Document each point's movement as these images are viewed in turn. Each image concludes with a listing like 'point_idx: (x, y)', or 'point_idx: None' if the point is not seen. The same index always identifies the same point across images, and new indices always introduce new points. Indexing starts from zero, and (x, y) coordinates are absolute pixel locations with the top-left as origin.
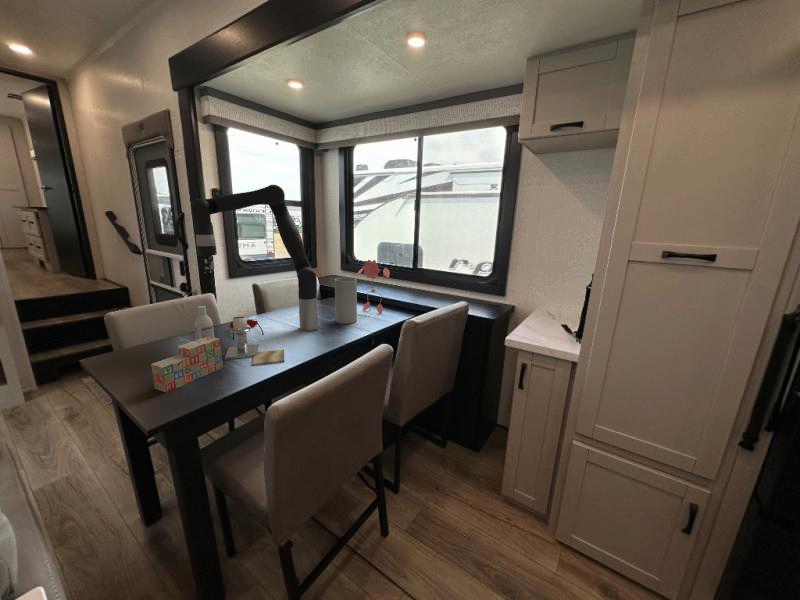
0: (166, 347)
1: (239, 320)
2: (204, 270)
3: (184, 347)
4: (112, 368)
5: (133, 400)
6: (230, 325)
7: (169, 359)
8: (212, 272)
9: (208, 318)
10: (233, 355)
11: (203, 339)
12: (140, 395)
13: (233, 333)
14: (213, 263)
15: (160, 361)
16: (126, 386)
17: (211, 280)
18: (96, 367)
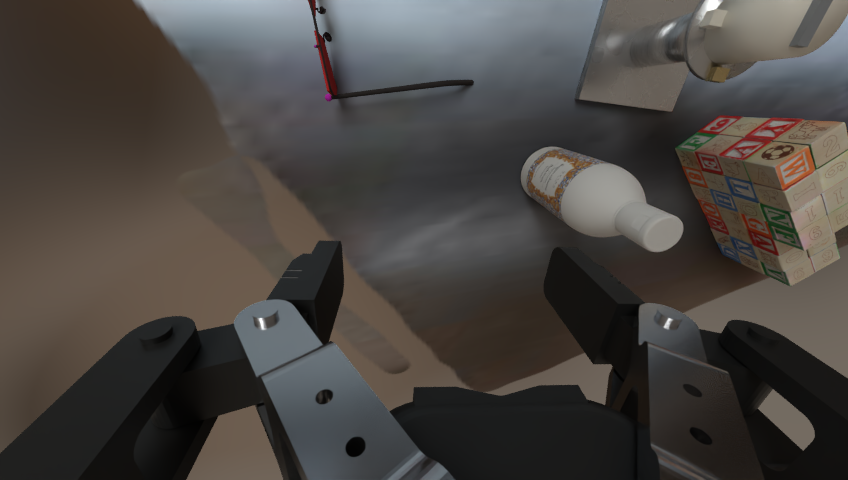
0: (459, 281)
1: (840, 14)
2: (746, 409)
3: (830, 230)
4: (550, 346)
5: (744, 277)
6: (335, 95)
7: (795, 254)
8: (323, 292)
9: (637, 186)
10: (673, 82)
11: (805, 182)
12: (732, 271)
13: (448, 81)
14: (371, 423)
15: (790, 271)
16: (668, 302)
17: (574, 249)
18: (527, 371)
